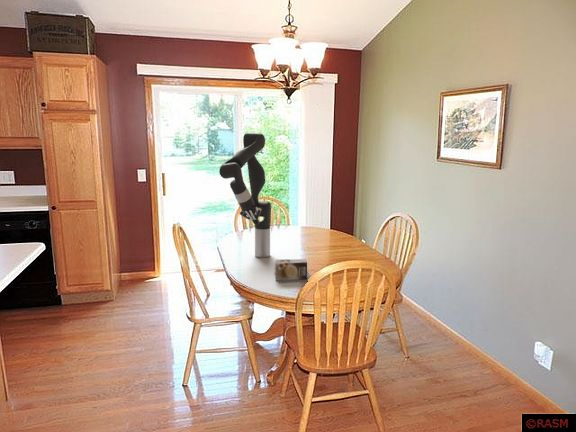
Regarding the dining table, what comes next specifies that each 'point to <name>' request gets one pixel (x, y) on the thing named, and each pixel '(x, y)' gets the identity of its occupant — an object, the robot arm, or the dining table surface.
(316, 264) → the dining table surface
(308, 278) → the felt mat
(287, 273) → the coffee box
